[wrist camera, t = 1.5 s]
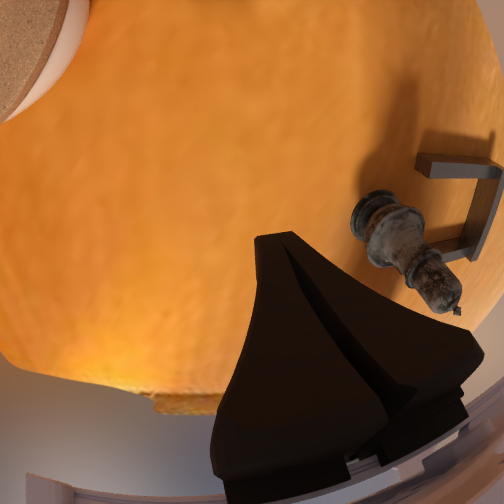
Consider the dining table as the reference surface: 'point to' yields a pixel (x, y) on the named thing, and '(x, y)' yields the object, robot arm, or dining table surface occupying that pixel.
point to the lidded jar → (36, 48)
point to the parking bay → (482, 205)
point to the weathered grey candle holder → (405, 249)
